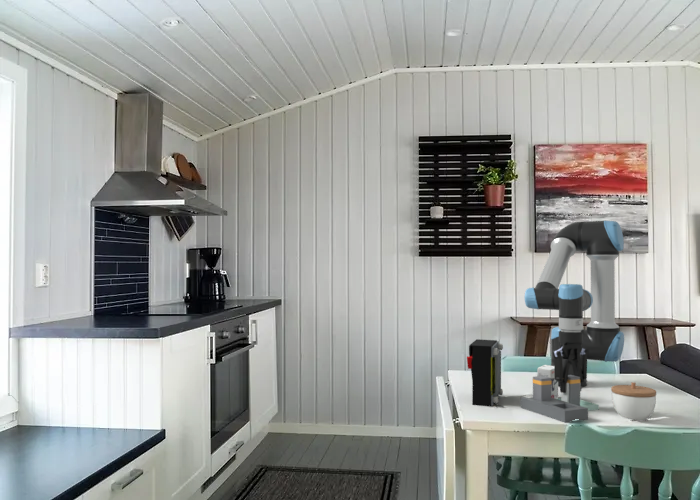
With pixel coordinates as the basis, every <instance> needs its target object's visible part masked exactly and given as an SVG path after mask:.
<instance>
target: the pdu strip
mask: <svg viewBox="0 0 700 500" xmlns="http://www.w3.org/2000/svg"><path fill="white" fill-rule="evenodd" d="M551 384H552V381H551V378H549V377H545V376H536V375H535V376H532V394H530V395H529V394H528V395H523V396H521V397H520V408H521V409H524V410H526V411H529V412H533V413H535V414H538V415H541V416H544V417H547V418H549V419H552V420H555V421H558V422H561V423H563V424H565V423H571V422H570V421H572V420H575V419H579V420H583V421H588V420H589V411H588V408H585V407H582V406H578V405H575V404H571V403H568V402H565V401H561V400H558V399H554V398H551Z"/></svg>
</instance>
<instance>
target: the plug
mask: <svg viewBox="0 0 700 500" xmlns="http://www.w3.org/2000/svg"><path fill="white" fill-rule="evenodd" d="M563 379H564V378H563ZM567 383H569V403H571V404H575V405H578V406H580V399H581V391H580V377H578V376H574V375H568V379H567Z"/></svg>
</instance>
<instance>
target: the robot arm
mask: <svg viewBox="0 0 700 500" xmlns="http://www.w3.org/2000/svg"><path fill="white" fill-rule="evenodd" d="M624 244H625V242H624V235H623V231H622V228H621V225H620V224H619V222H618V221H615V220H596V221H595V220H591V221H589V220H588V221H575V222H572V223H570V224H567V225H566V226H564V227H563V228H562V229H560V230H559V231H558V232H557V233H556V234H555V236H554V237H553V238H552V241H551V243H550V252H549V255H548V257H547V259H546V262H545V264H544V266H543V268H542V271H541V274H540V275H539V278H538V280H537V283H536V285H535V286H534V287H529V288H527V289H526V290H525V293H524V304H525V306H526V307H527V308H528V309H533V310H549V311H551V310H552V311H554V310H555V311H558V326H556V327H553V328H552V329H551V333H550V335H551V337H550V348H551V349H550V354H551V355H550V356H551V357H550V360H551V361H550V366H554V370H555V380H557V381H558V387H559V391H560V393H561V395H560V396H561V397H560V398H561V401H565V402H568V403H569V383H567V379H568V375H574V376H578V377H580V392H582V387H583V388H584V387H586V386H588V383H587V382H588V379H587V377H588V361H589V360H590V361H600V362H602V361H603V362H606V363H607V362H611V363H612V362H613V363H614V362H617V361H620V359H621V357H622V354H623V351H624V344H625V333H624V332H623V331H620V326H619V324H617V323H616V321H615V320H616V319H615V318H616V315H615V313H616V310H615V308H616V307H615V306H616V305H615V302H616V300H615V299H616V297H615V296H616V295H615V293H616V291H615V287H616V285H615V284H616V283H615V282H616V280H615V277H616V276H615V273H616V272H615V260H617V258H618V257H619V255H620V254H619V253H620V252H623V250H624ZM576 252H586V255H585V256H586V257H587V258H588V259H589V260H590V291H589V290H587V289H584V288H583V285H582V284H580V283H579V284H578V283H577V284H575V283H566V284H565V283H562V284H561V282H562V280H563V277H564V275H565V271H566V269H567V266H568V264H569V262H570V259H571V258H572V257H573V256H574V255H575V254H576ZM589 309H590V321H589V323H587V324H586V329H585V328H584V323H583V322H584V315H583V314H584V312H585V311H587V310H589ZM563 378H564V379H563Z"/></svg>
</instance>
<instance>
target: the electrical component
mask: <svg viewBox="0 0 700 500" xmlns="http://www.w3.org/2000/svg"><path fill="white" fill-rule="evenodd" d="M503 349H504V346H503V343H499V341H498V340H497V339H479V338H478V339H475V340H473V341H472V343H470V344H469V345H468V355H469V356H466V362H467V369H468V370H469V369H470V372H471V379H472V386H471V387H472V388H471V389H472V393H471V395H472V396H471V397H472V400H471V401H472V403H471V404H472V406H481V407H490V408H491V407H494V404H498V403H499V396H503V394H504V393H503V392H504V390H503V389H502V350H503Z"/></svg>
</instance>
